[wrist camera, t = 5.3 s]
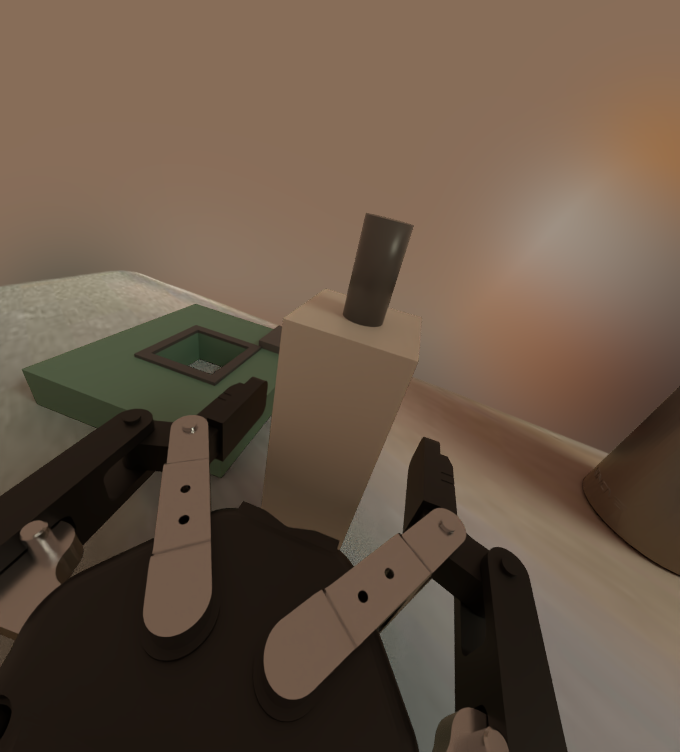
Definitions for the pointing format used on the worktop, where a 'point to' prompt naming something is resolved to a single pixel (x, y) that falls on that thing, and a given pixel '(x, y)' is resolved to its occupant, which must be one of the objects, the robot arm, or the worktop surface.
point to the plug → (340, 388)
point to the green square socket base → (161, 370)
